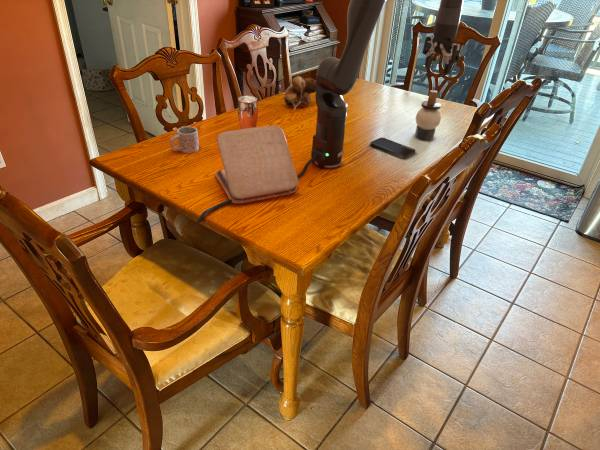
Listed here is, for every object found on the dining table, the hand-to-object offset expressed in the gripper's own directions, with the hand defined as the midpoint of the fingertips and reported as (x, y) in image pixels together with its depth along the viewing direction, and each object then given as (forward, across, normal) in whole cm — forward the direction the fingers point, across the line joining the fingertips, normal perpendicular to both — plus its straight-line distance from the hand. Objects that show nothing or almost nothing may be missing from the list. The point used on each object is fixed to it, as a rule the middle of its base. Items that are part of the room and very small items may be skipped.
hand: (436, 71), depth 158 cm
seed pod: (+25, -51, -24) cm, 62 cm away
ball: (+17, 0, +1) cm, 17 cm away
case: (+25, +4, -73) cm, 78 cm away
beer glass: (+25, -26, -60) cm, 71 cm away
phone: (+25, +3, -18) cm, 31 cm away
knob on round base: (+13, 0, +1) cm, 13 cm away
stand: (+25, 0, +1) cm, 25 cm away
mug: (+25, -28, -83) cm, 92 cm away
